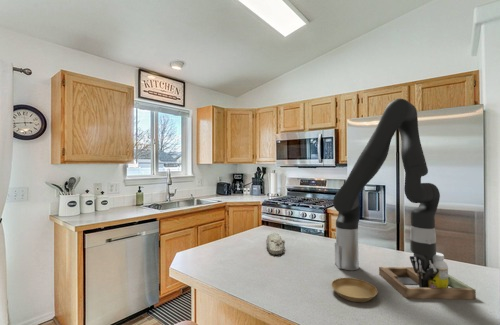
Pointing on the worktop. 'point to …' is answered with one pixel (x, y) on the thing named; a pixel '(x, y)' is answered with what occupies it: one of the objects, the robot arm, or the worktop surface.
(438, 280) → the supplement bottle
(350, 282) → the plant saucer
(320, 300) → the worktop surface
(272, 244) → the elongated rock
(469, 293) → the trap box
